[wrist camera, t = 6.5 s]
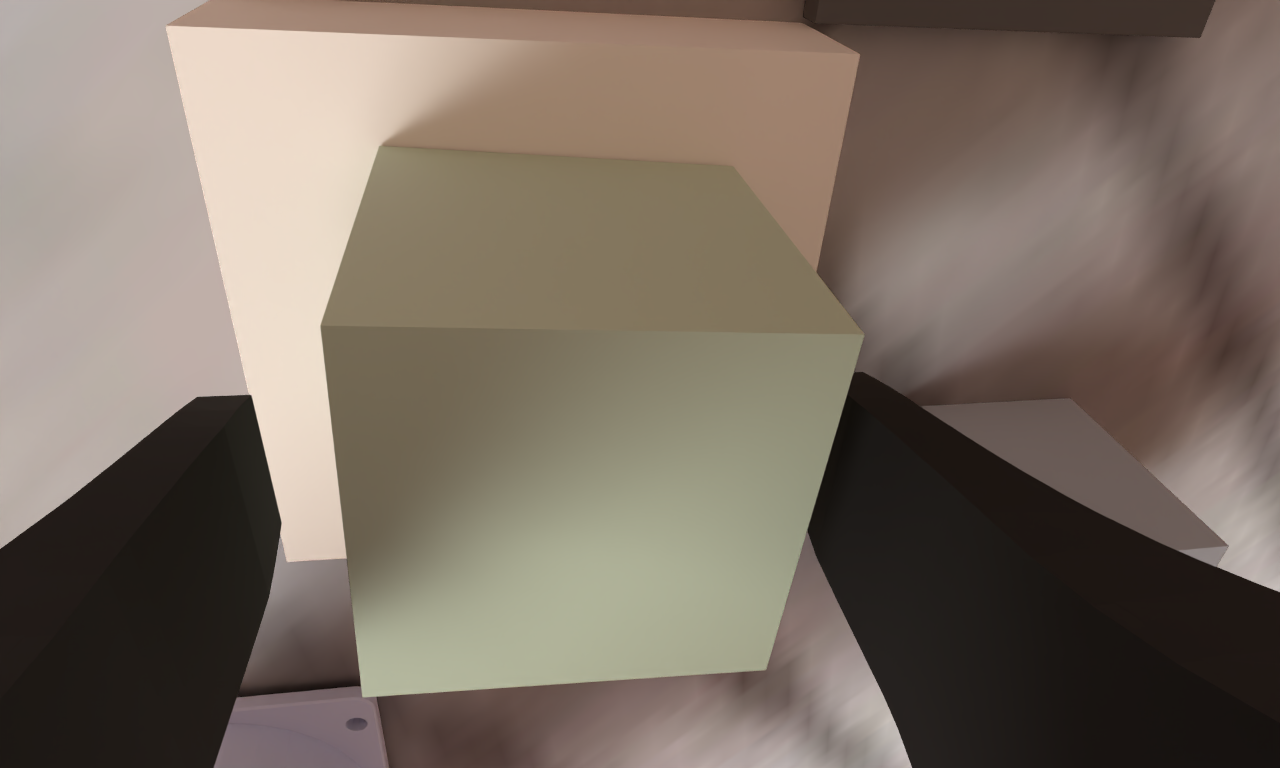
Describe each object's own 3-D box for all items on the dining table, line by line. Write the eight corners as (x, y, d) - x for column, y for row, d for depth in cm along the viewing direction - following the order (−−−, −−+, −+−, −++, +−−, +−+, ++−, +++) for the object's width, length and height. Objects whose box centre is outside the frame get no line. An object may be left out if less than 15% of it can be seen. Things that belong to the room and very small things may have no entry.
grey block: (1006, 551, 22) (1128, 715, 18) (829, 567, 21) (913, 741, 17) (1068, 396, 19) (1228, 545, 15) (867, 406, 18) (979, 568, 14)
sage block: (685, 438, 15) (765, 669, 11) (397, 441, 14) (362, 697, 10) (733, 165, 12) (864, 334, 8) (379, 146, 11) (320, 326, 7)
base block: (726, 440, 19) (764, 530, 16) (314, 459, 17) (286, 561, 15) (792, 17, 14) (859, 54, 12) (227, -10, 12) (164, 25, 10)
